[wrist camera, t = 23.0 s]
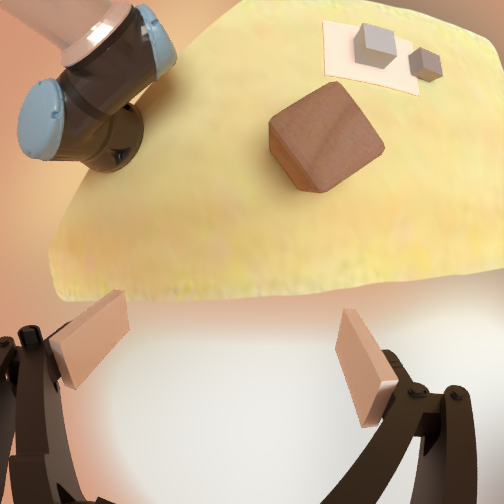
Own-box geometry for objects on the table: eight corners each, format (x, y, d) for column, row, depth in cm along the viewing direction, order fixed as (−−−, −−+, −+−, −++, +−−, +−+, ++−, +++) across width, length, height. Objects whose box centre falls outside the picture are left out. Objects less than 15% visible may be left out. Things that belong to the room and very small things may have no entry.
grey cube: (411, 74, 39) (423, 67, 34) (408, 55, 38) (420, 47, 33) (429, 82, 39) (442, 75, 34) (426, 62, 38) (439, 55, 33)
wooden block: (266, 146, 46) (264, 119, 26) (312, 117, 44) (338, 75, 24) (300, 192, 47) (321, 197, 28) (345, 162, 45) (391, 149, 26)
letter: (324, 75, 41) (324, 74, 41) (322, 20, 38) (322, 20, 38) (418, 96, 40) (419, 95, 40) (411, 42, 37) (411, 41, 37)
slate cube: (355, 62, 40) (366, 47, 33) (353, 39, 38) (363, 22, 32) (383, 69, 40) (397, 56, 33) (381, 45, 38) (393, 31, 31)
